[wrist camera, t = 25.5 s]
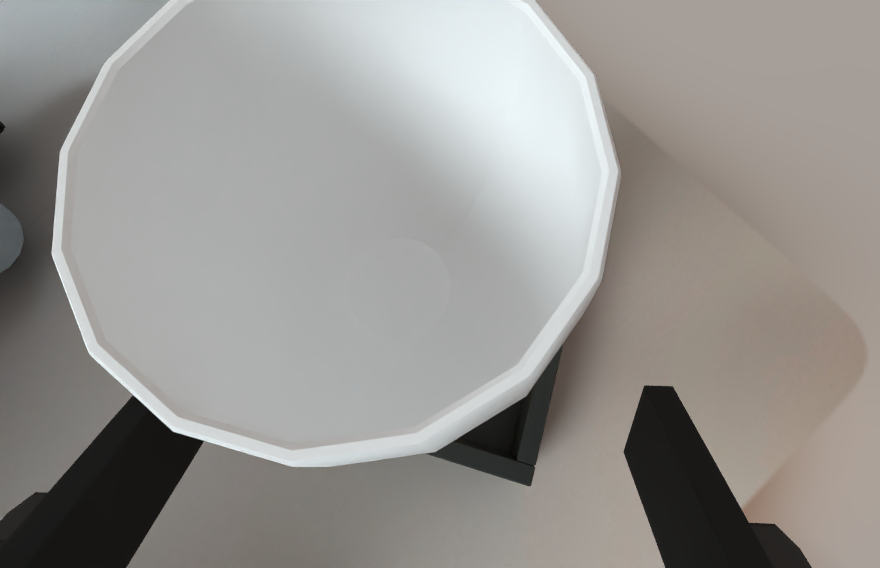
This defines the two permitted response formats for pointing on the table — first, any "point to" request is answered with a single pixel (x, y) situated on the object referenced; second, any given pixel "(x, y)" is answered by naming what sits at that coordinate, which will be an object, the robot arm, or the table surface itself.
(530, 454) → the dark square tray
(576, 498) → the table surface
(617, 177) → the cup
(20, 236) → the figurine
